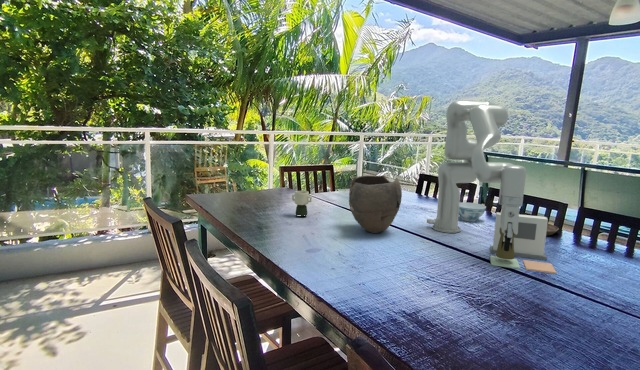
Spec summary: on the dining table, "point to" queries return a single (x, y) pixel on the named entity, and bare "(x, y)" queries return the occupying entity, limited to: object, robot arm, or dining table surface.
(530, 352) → the dining table surface
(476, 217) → the chinaware
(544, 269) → the terracotta pad
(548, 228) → the plant saucer
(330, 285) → the dining table surface
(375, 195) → the clay pot
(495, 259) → the sage pad
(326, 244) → the dining table surface
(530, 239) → the white display panel
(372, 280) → the dining table surface
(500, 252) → the olive pepper shaker
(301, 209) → the trophy cup
